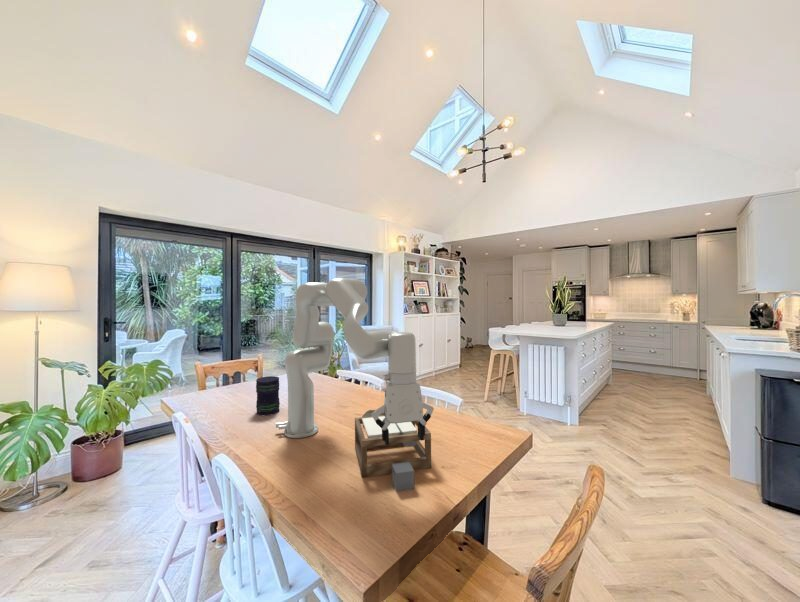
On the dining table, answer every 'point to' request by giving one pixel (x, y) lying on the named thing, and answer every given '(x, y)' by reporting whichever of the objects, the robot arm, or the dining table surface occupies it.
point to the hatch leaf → (393, 428)
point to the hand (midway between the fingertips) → (403, 440)
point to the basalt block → (402, 476)
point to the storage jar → (267, 395)
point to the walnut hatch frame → (386, 467)
